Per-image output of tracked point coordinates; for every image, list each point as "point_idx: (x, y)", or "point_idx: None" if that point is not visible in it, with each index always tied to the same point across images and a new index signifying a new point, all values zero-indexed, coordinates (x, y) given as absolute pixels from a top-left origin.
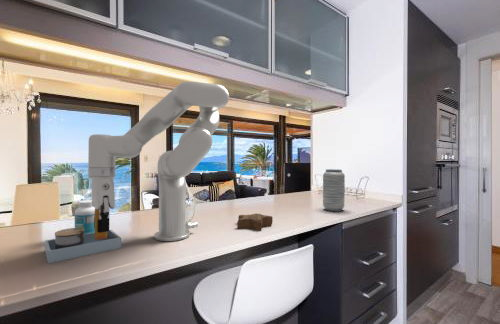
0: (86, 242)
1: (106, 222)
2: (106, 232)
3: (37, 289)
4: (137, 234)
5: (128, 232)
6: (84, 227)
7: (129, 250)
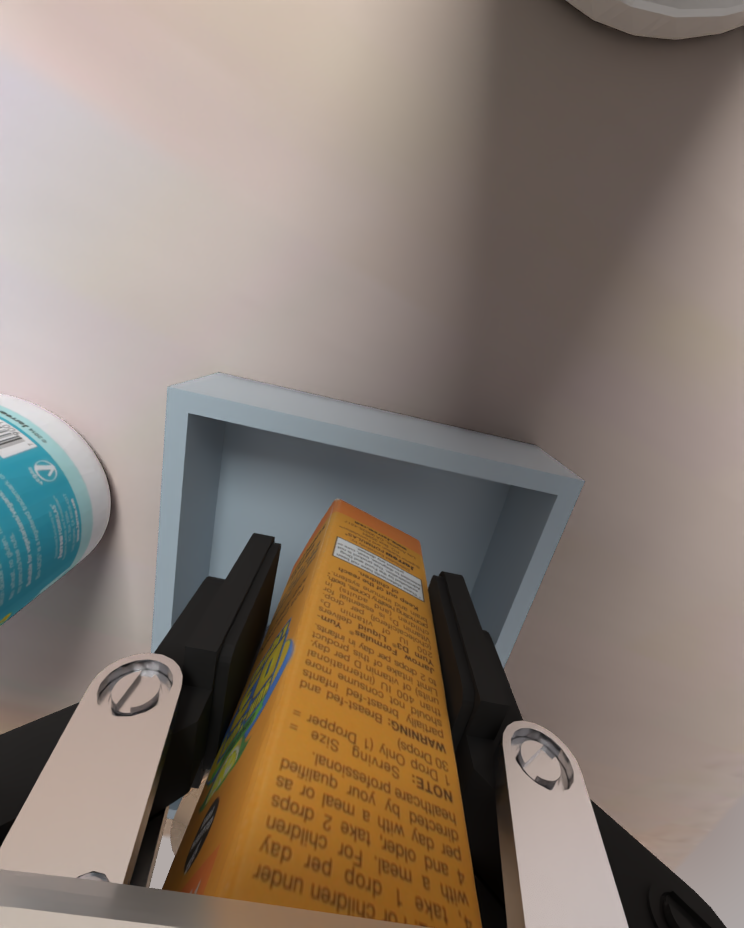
0: (206, 566)
1: (512, 704)
2: (413, 566)
3: (645, 841)
4: (216, 43)
5: (38, 69)
6: (3, 612)
7: (620, 418)
